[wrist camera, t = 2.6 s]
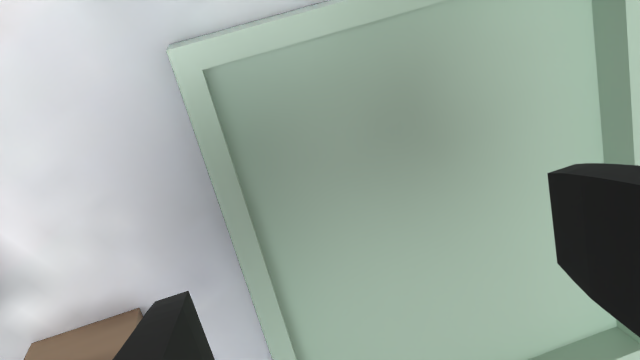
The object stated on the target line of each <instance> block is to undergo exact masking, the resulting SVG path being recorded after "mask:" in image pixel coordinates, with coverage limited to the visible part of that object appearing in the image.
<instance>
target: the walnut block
mask: <svg viewBox="0 0 640 360" xmlns="http://www.w3.org/2000/svg"><path fill="white" fill-rule="evenodd" d="M142 318H143V315H142V313H141V311H140V308H137V309H134V310H131V311H128V312H125V313H122V314H119V315H116V316H113V317H110V318H107V319H104V320H101V321H98V322H95V323H92V324H89V325H86V326H83V327H80V328H77V329H74V330H71V331H68V332H65V333H62V334H59V335H56V336H53V337H50V338H47V339H44V340H41V341H38V342H35V343H32V344H31V346H30V348H29V350H28V352H27V354H26V356H25V358H24V360H112V359H113V358H114V357H115V355H116V354H117V353H118V351H119V350H120V349H121V347H122V346H123V344H124V343H125V342H126V340H127V339H128V338H129V336H130V335H131V333H132V332H133V331H134V329H135V328H136V326H137V325H138V324H139V322H140V321H141V319H142Z"/></svg>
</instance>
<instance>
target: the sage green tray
mask: <svg viewBox="0 0 640 360" xmlns="http://www.w3.org/2000/svg"><path fill="white" fill-rule="evenodd" d="M166 51H167V54H168V57H169V60H170V63H171V66H172V69H173V72H174V75H175V78H176V81H177V83H178V86H179V89H180V92H181V95H182V98H183V101H184V104H185V107H186V110H187V113H188V115H189V118H190V121H191V124H192V127H193V130H194V133H195V136H196V139H197V142H198V145H199V147H200V150H201V153H202V156H203V159H204V162H205V165H206V168H207V171H208V174H209V177H210V179H211V182H212V185H213V188H214V191H215V194H216V197H217V200H218V203H219V206H220V209H221V211H222V214H223V217H224V220H225V223H226V226H227V229H228V232H229V235H230V238H231V241H232V243H233V246H234V249H235V252H236V255H237V258H238V261H239V264H240V267H241V270H242V273H243V275H244V278H245V281H246V284H247V287H248V290H249V293H250V296H251V299H252V302H253V304H254V307H255V310H256V313H257V316H258V319H259V322H260V325H261V328H262V331H263V334H264V336H265V339H266V342H267V345H268V348H269V351H270V354H271V357H272V360H640V337H638V336H637V335H636V334H634V333H633V332H632V331H631V330H629V329H628V328H627V327H625V326H624V325H623V324H622V323H620V322H619V321H618V320H617V319H615V318H614V317H613V316H612V315H610V314H609V313H608V312H607V311H605V310H604V309H603V308H602V307H600V306H599V305H598V304H597V303H595V302H594V301H593V300H592V299H591V298H590V297H589V296H588V295H587V294H586V293H585V292H584V291H583V290H582V289H581V288H580V287H579V286H578V285H577V284H576V283H575V282H574V281H573V280H572V279H571V278H570V277H569V276H568V274H567V273H566V272H565V271H564V270H563V269H562V268H561V267H560V266H559V265H558V264H557V256H556V247H555V238H554V229H553V220H552V211H551V202H550V193H549V184H548V175H547V173H549V172H552V171H555V170H558V169H562V168H565V167H568V166H571V165H574V164H583V163H605V164H624V165H638V166H640V0H329V1H325V2H322V3H318V4H314V5H311V6H307V7H304V8H300V9H296V10H293V11H289V12H286V13H282V14H278V15H275V16H271V17H268V18H264V19H260V20H257V21H253V22H250V23H246V24H242V25H239V26H235V27H232V28H228V29H224V30H221V31H217V32H214V33H210V34H206V35H203V36H199V37H196V38H192V39H188V40H185V41H181V42H178V43H174V44H170V45H169V47H168V48H167V50H166Z"/></svg>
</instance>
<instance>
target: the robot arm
mask: <svg viewBox="0 0 640 360" xmlns="http://www.w3.org/2000/svg"><path fill="white" fill-rule="evenodd" d="M547 175H548V184H549V193H550V202H551V211H552V220H553V229H554V238H555V247H556V256H557V264H558V265H559V266H560V267H561V268H562V269H563V270H564V271H565V272H566V273H567V274H568V276H569V277H570V278H571V279H572V280H573V281H574V282H575V283H576V284H577V285H578V286H579V287H580V288H581V289H582V290H583V291H584V292H585V293H586V294H587V295H588V296H589V297H590V298H591V299H592V300H593V301H594V302H595V303H597V304H598V305H599V306H600V307H602V308H603V309H604V310H605V311H607V312H608V313H609V314H610V315H612V316H613V317H614V318H615V319H617V320H618V321H619V322H620V323H622V324H623V325H624V326H625V327H627V328H628V329H629V330H631V331H632V332H633V333H634V334H636V335H637V336H638V337H640V166H638V165H624V164H605V163H583V164H574V165H571V166H568V167H565V168H562V169H558V170H555V171H552V172H549V173H547ZM112 360H215V359H214V357H213V354H212V351H211V349H210V346H209V344H208V341H207V338H206V336H205V333H204V331H203V328H202V325H201V323H200V320H199V317H198V315H197V312H196V310H195V307H194V304H193V302H192V299H191V296H190V294H189V291H186V292H183V293H180V294H177V295H174V296H171V297H168V298H165V299H162V300H159V301H156V302H155V303H154V304H153V305H152V306H151V307H150V309H149V310H148V311H147V313H146V314H145V315H144V317H143V318H142V319H141V321H140V322H139V324H138V325H137V326H136V328H135V329H134V331H133V332H132V333H131V335H130V336H129V338H128V339H127V340H126V342H125V343H124V344H123V346H122V347H121V349H120V350H119V351H118V353H117V354H116V355H115V357H114V358H113V359H112Z"/></svg>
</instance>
